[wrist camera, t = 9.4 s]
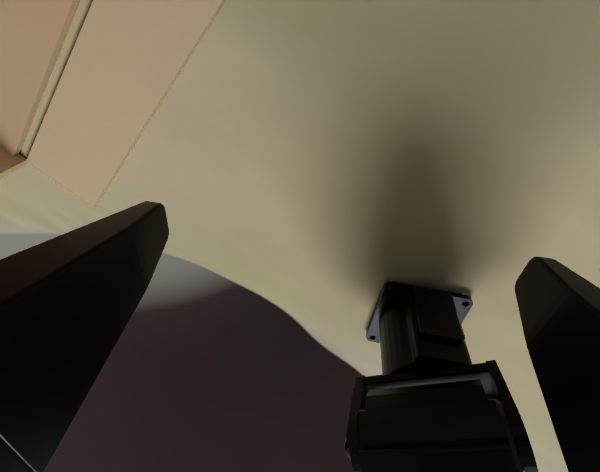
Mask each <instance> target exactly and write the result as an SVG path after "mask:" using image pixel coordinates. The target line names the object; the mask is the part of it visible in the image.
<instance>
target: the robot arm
mask: <svg viewBox="0 0 600 472" xmlns="http://www.w3.org/2000/svg"><path fill="white" fill-rule="evenodd" d="M168 235H169V229H168V223H167V217H166V212H165V207H164V206H163V205H162V204H161V203H156V202H149V201H145V202H143V203H140V204H138V205H135V206H133V207H130V208H128V209H125V210H123V211H120V212H118V213H115V214H113V215H110V216H108V217H105V218H103V219H100V220H98V221H95V222H93V223H90V224H88V225H85V226H83V227H80V228H78V229H75V230H73V231H70V232H68V233H65V234H63V235H60V236H58V237H55V238H53V239H50V240H48V241H46V242H43V243H41V244H38V245H36V246H33V247H31V248H28V249H26V250H23V251H21V252H18V253H16V254H13V255H11V256H8V257H6V258H3V259H1V260H0V472H44V471H45V469H46V467H47V465H48V464H49V462H50V460H51V458H52V457H53V455H54V453H55V451H56V450H57V448H58V446H59V444H60V442H61V441H62V439H63V437H64V435H65V434H66V432H67V430H68V428H69V426H70V425H71V423H72V421H73V419H74V418H75V416H76V414H77V412H78V410H79V409H80V407H81V405H82V403H83V402H84V400H85V398H86V396H87V394H88V393H89V391H90V389H91V387H92V386H93V384H94V382H95V380H96V379H97V377H98V375H99V373H100V371H101V370H102V368H103V366H104V364H105V363H106V361H107V359H108V357H109V355H110V354H111V352H112V350H113V348H114V346H115V345H116V343H117V341H118V339H119V337H120V336H121V334H122V332H123V331H124V329H125V327H126V325H127V324H128V322H129V320H130V318H131V316H132V315H133V313H134V311H135V309H136V308H137V306H138V304H139V302H140V300H141V299H142V297H143V295H144V293H145V291H146V289H147V287H148V285H149V283H150V280H151V278H152V275H153V273H154V271H155V269H156V266H157V264H158V261H159V259H160V256H161V254H162V252H163V249H164V247H165V244H166V242H167V240H168ZM389 288H393V289H389ZM515 293H516V298H517V302H518V307H519V312H520V317H521V321H522V326H523V331H524V336H525V340H526V344H527V348H528V351H529V354H530V358H531V361H532V364H533V367H534V370H535V373H536V375H537V378H538V381H539V384H540V387H541V390H542V393H543V396H544V399H545V402H546V405H547V408H548V411H549V414H550V417H551V420H552V423H553V426H554V429H555V432H556V435H557V438H558V441H559V444H560V447H561V450H562V453H563V456H564V459H565V462H566V465H567V468H568V471H569V472H600V288H598V287H597V286H595V285H594V284H592V283H590V282H589V281H587V280H586V279H584V278H583V277H581V276H580V275H578V274H576V273H575V272H573V271H572V270H570V269H569V268H567V267H566V266H564V265H562V264H561V263H559V262H558V261H556V260H554V259H551V258H544V257H534V258H532V259H531V260H530V261H529V262H528V264H527V265H526V267H525V268H524V270H523V272H522V273H521V275H520V276H519V278H518V279H517V281H516V284H515ZM472 305H473V302H472V299H471V297H470V296H467V295H462V294H457V293H451V292H446V291H440V290H435V289H429V288H424V287H418V286H413V285H407V284H402V283H396V282H387V283H385V285H384V287H383V289H382V292H381V295H380V297H379V300H378V303H377V306H376V308H375V311H374V314H373V316H372V319H371V322H370V324H369V327H368V330H367V333H366V337H367V340H369V341H372V342H377V343H380V345H381V359H382V373H383V375H376V376H368V377H365V376H357V377H356V382H355V387H354V388H353V395H352V401H351V407H350V414H349V421H348V427H347V434H346V435H347V439H346V441H345V452H346V454H347V455H348V456H349V457H350V459H351V462H352V467H353V471H354V472H538V469H537V465H536V461H535V457H534V454H533V451H532V447H531V444H530V441H529V438H528V435H527V432H526V429H525V427H524V424H523V421H522V419H521V416H520V414H519V412H518V409H517V407H516V405H515V403H514V400H513V398H512V396H511V394H510V392H509V389H508V387H507V385H506V383H505V381H504V378H503V376H502V374H501V372H500V370H499V367H498V365H497V363H496V361H495V360H492V361H486V363H479V364H472V362H471V359H470V355H469V352H468V349H467V346H466V343H465V335H464V332H463V329H462V326H461V323H462V322H463V320H464V318H465V317H466V315H467V313H468V312H469V310H470V308H471V307H472Z"/></svg>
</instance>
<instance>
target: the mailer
mask: <svg viewBox="0 0 600 472" xmlns="http://www.w3.org/2000/svg"><path fill="white" fill-rule="evenodd" d="M79 1H80V0H0V178H2V177H4V176H6V175H8V174H10V173H11V172H13V171H15V170H17V169H19V168H21V167H23V166H25V164H26V163H27V164H29V165H30V166H32V167H33V168H35V169H36V170H38V171H39V172H41V173H42V174H43V175H45V176H46V177H48V178H49V179H51V180H52V181H54V182H55V183H57V184H58V185H60V186H61V187H62V188H64V189H65V190H67V191H68V192H70V193H71V194H73V195H74V196H76V197H77V198H79V199H80V200H81V201H83V202H84V203H86V204H87V205H89V206H90V207H92V208H94V207H95V206H96V205H97V203H98V202H99V200H100V198H101V197H102V195H103V194H104V192H105V191H106V189H107V187H108V186H109V184H110V183H111V181H112V179H113V178H114V176H115V175H116V173H117V171H118V170H119V168H120V167H121V165H122V163H123V162H124V160H125V159H126V157H127V155H128V154H129V152H130V151H131V149H132V148H133V146H134V144H135V143H136V141H137V140H138V138H139V136H140V135H141V133H142V132H143V130H144V128H145V127H146V125H147V124H148V122H149V120H150V119H151V117H152V116H153V114H154V112H155V111H156V109H157V108H158V106H159V105H160V103H161V101H162V100H163V98H164V97H165V95H166V93H167V92H168V90H169V89H170V87H171V85H172V84H173V82H174V81H175V79H176V77H177V76H178V74H179V73H180V71H181V70H182V68H183V66H184V65H185V63H186V62H187V60H188V58H189V57H190V55H191V54H192V52H193V50H194V49H195V47H196V46H197V44H198V42H199V41H200V39H201V38H202V36H203V34H204V33H205V31H206V30H207V28H208V27H209V25H210V23H211V22H212V20H213V19H214V17H215V15H216V14H217V12H218V11H219V9H220V7H221V6H222V4H223V3H224V1H225V0H93V2H92V4H91V7H90V9H89V12H88V14H87V16H86V19H85V21H84V24H83V26H82V28H81V31H80V33H79V36H78V38H77V40H76V43H75V45H74V48H73V50H72V52H71V55H70V57H69V60H68V62H67V64H66V67H65V69H64V72H63V74H62V76H61V79H60V81H59V83H58V86H57V88H56V91H55V93H54V95H53V98H52V100H51V103H50V105H49V107H48V110H47V112H46V115H45V117H44V119H43V122H42V124H41V127H40V129H39V131H38V134H37V136H36V139H35V141H34V143H33V146H32V148H31V151H30V153H29V155H28V158H27V159H26V158H25V157H23V156H22V155H20V154H19V152H20V150H21V147H22V145H23V142H24V140H25V137H26V134H27V132H28V129H29V127H30V124H31V122H32V119H33V117H34V114H35V112H36V109H37V107H38V104H39V102H40V99H41V97H42V94H43V92H44V89H45V87H46V84H47V81H48V79H49V76H50V74H51V71H52V69H53V66H54V64H55V61H56V59H57V56H58V54H59V51H60V49H61V46H62V44H63V41H64V39H65V36H66V33H67V31H68V28H69V26H70V23H71V21H72V18H73V16H74V13H75V11H76V8H77V6H78V3H79Z"/></svg>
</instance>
